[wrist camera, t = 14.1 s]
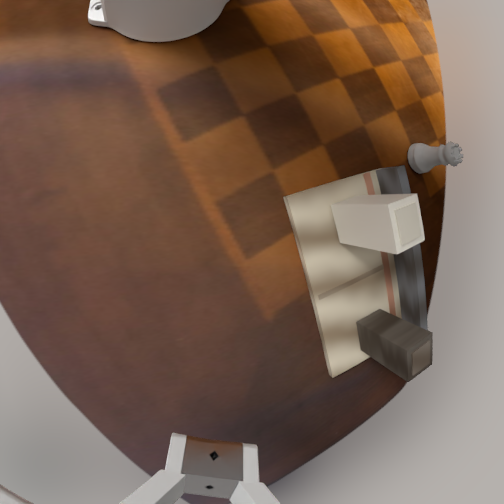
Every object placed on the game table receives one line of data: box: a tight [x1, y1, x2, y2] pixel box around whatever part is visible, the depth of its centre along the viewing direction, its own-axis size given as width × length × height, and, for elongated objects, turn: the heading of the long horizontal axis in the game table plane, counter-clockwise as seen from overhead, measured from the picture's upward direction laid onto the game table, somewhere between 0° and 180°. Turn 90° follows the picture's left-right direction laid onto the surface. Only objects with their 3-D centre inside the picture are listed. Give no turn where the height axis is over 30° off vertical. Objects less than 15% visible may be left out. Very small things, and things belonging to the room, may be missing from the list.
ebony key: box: [356, 309, 432, 382], centre depth 32 cm, size 4×4×10 cm
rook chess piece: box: [407, 142, 463, 174], centre depth 34 cm, size 4×4×8 cm
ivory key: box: [331, 194, 425, 254], centre depth 29 cm, size 4×4×10 cm
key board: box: [283, 165, 427, 378], centre depth 34 cm, size 24×14×5 cm, turn 18°
